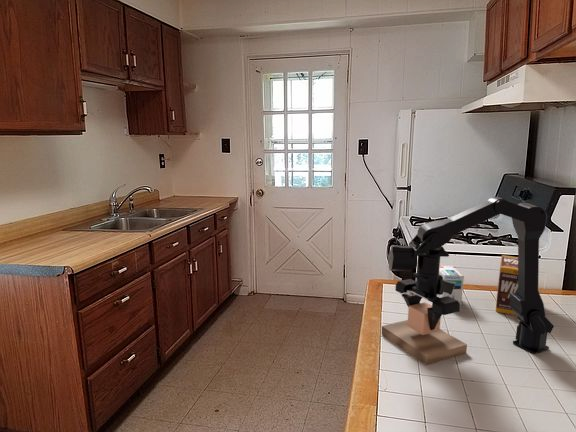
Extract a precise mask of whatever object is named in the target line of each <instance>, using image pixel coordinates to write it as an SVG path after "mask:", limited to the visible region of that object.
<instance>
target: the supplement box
mask: <svg viewBox="0 0 576 432" xmlns="http://www.w3.org/2000/svg"><path fill="white" fill-rule="evenodd" d="M498 274H499V275H498V282H497V283H498V284H497V292H496V293H497V294H496V301H495V312H497V313H501V314H507V315H512V316H517V315H516V314H515V313H514V312H513V311H512V308H511V307H510V306H509V304H510V295H509V294H510V293H515V292H516V290H517V289H518V256H511V255H501V259H500V266H499V273H498Z"/></svg>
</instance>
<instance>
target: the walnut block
mask: <svg viewBox="0 0 576 432" xmlns="http://www.w3.org/2000/svg"><path fill="white" fill-rule="evenodd" d="M407 324H408V319H406V320H402V321H398V322H393V323H389V324H384V325H381V335H382V336H383V337H385V338H386V339H388V340H389V341H391V342H392V343H394V344H395V345H397V346H398V347H399V348H401V349H402V350H404V351H405V352H407V353H408V354H410V355H411V356H413V357H414V358H415V359H417V360H418V361H419V362H421V363H422V364H424V365H425V366H428V365H431V364H435V363H437V362H438V363H439V362H441V361H444V360H447V359H452V358H454V357H458V356H461V355H465V354H467V348H468V344H467V343H465V342H464V341H462V340H460V339H458V338H456V337H455V336H453V335H451V334H450V333H448V332H446V331H444V330H442V329H441V328H440V331H437V332H433V333H429V334H426V335H422V334H420V333H418V332H417V331H415V330H413V329H412V328H410V327H408V326H407Z"/></svg>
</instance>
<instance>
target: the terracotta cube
mask: <svg viewBox="0 0 576 432" xmlns="http://www.w3.org/2000/svg"><path fill="white" fill-rule="evenodd" d="M431 307H432V304H429V303H428V302H426V301H425V302H420V303H419V304H415V305H410V306H409V308H408V312H407V313H408V315H407V320H408V324H407V326H408V327H410V328H412V329H413V330H415V331H417V332H418V333H420V334H422V335H426V334H429V333H433V332H437V331H440V329H441V319H442V316H441V317H440V319H439V321H438V323H437V325H436V327H435V329H434V330H430V326H429V319H428V312H427V308H431Z"/></svg>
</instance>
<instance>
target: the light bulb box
mask: <svg viewBox="0 0 576 432" xmlns="http://www.w3.org/2000/svg"><path fill="white" fill-rule="evenodd" d="M439 275H442V277H443V279H444V280H447V281H449V282H451V283H454V284H455V286H454V289H453V292H452V294H451V295H450V294H449V293H445V292H443V294H442V295H439V294H437V297H439V298H442V297H446V296H448V297H451V298H453V299H455V300H457V301H458V302H459V303H460V306H462V300H463V291H464V290H463V289H464V281H465V279H464V278H465V276H464V274H463V273H461V272H460V271H459V270H457V268H455V267H454V266H453V265H440V268H439Z"/></svg>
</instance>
